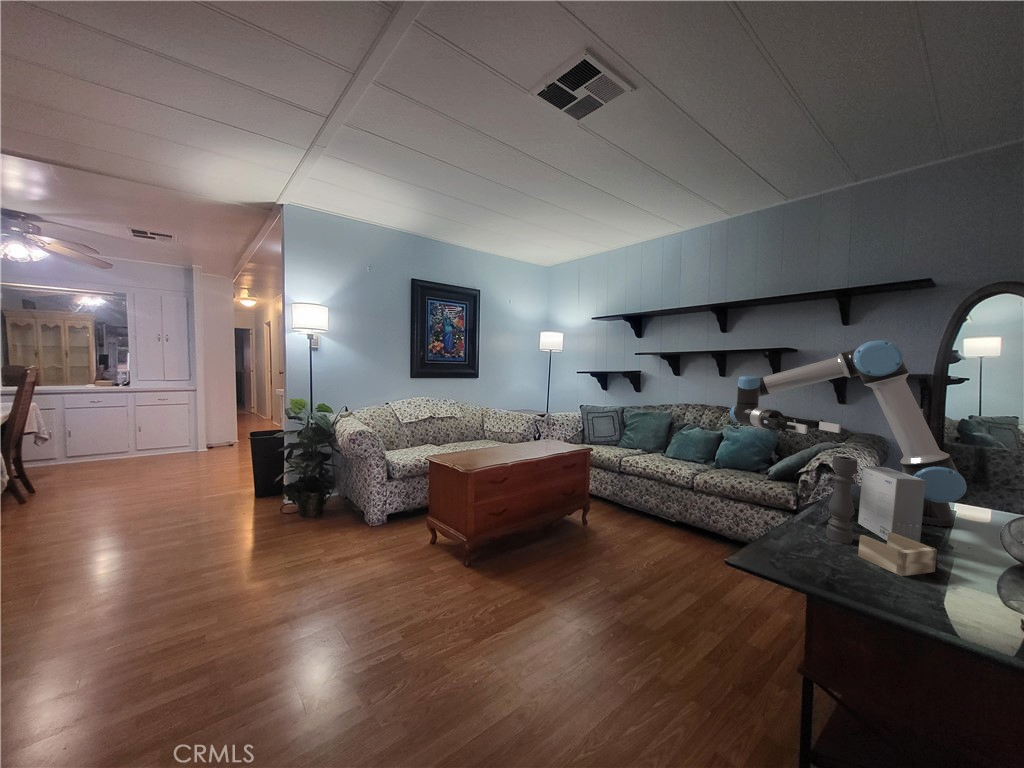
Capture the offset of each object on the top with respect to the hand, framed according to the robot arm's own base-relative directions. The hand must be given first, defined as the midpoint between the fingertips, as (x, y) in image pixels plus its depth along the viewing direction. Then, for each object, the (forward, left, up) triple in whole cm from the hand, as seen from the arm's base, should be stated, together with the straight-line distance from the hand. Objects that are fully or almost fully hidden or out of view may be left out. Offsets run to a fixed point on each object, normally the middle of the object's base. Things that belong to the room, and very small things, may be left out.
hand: (823, 429), depth 127 cm
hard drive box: (-16, +10, -32) cm, 37 cm away
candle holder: (+3, +10, -32) cm, 34 cm away
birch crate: (+3, +24, -32) cm, 40 cm away
